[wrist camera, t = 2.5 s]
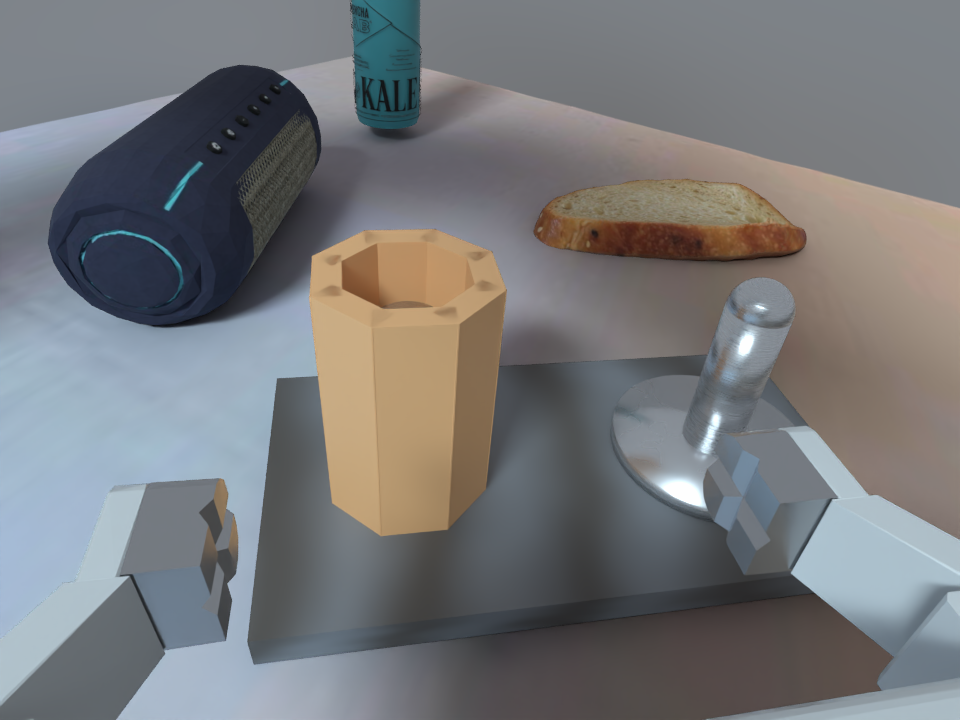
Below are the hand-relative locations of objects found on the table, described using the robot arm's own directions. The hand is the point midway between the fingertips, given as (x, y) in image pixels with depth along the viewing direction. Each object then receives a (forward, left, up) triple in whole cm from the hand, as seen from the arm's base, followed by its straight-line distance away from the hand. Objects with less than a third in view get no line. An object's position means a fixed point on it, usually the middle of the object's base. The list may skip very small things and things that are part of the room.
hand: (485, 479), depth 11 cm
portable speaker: (-37, +9, -15) cm, 41 cm away
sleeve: (-11, +6, -13) cm, 18 cm away
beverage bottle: (-51, +31, -15) cm, 62 cm away
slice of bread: (-21, +38, -15) cm, 46 cm away
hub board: (-7, +12, -15) cm, 20 cm away
